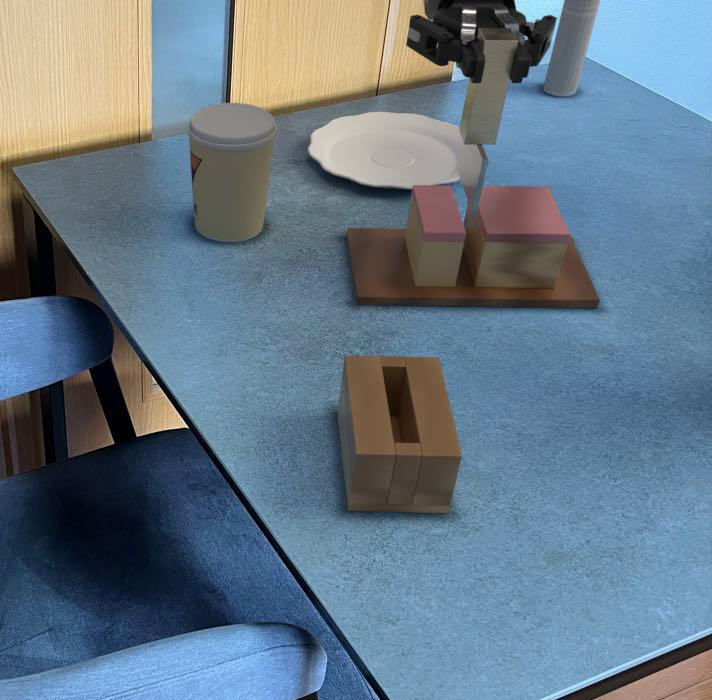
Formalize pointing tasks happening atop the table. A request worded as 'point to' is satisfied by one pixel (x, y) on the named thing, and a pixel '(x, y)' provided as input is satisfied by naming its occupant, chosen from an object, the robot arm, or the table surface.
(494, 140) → the knife
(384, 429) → the knife block
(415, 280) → the cake slice
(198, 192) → the coffee cup
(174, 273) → the table surface
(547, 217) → the cake
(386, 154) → the plate
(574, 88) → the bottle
